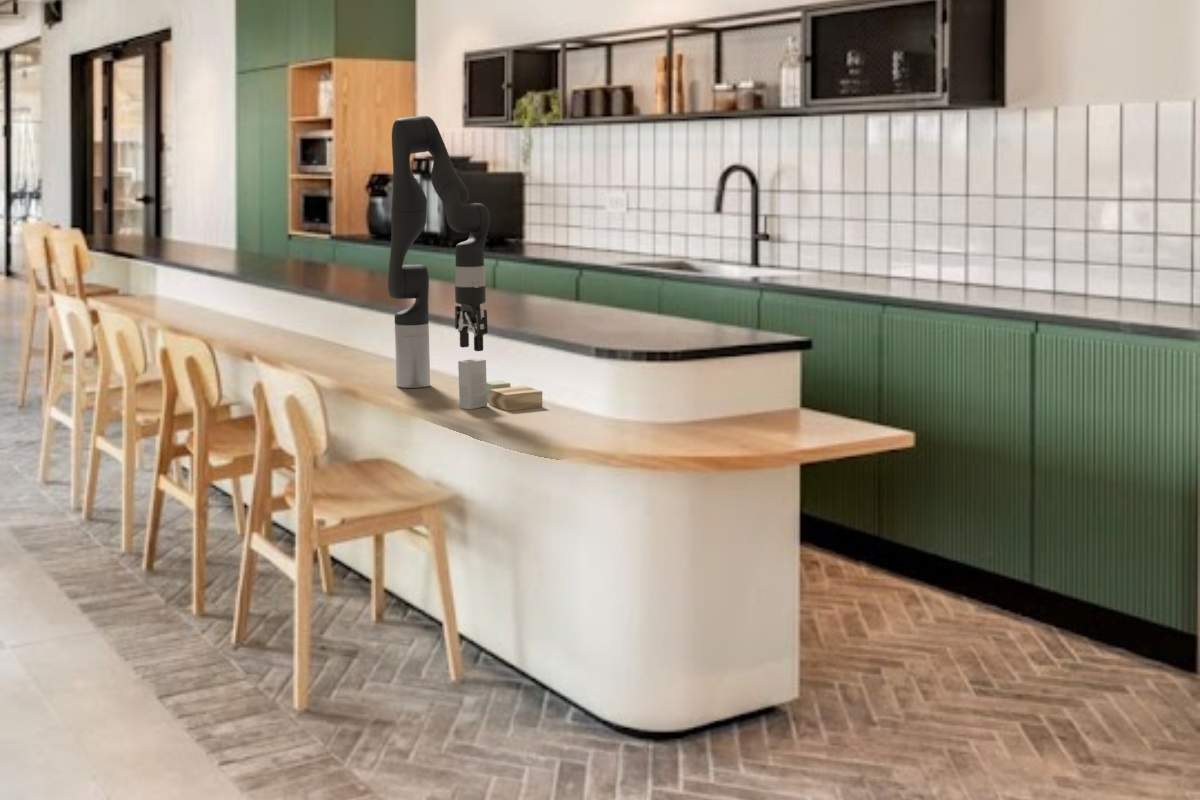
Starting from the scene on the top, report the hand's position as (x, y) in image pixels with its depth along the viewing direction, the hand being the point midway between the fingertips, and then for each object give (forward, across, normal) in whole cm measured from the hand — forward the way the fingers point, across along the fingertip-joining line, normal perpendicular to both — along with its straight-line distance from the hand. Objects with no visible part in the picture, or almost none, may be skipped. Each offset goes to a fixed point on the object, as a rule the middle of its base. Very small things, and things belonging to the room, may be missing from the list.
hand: (471, 349), depth 366 cm
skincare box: (+15, 0, 0) cm, 15 cm away
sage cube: (+15, -5, +9) cm, 18 cm away
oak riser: (+15, +4, +10) cm, 18 cm away
